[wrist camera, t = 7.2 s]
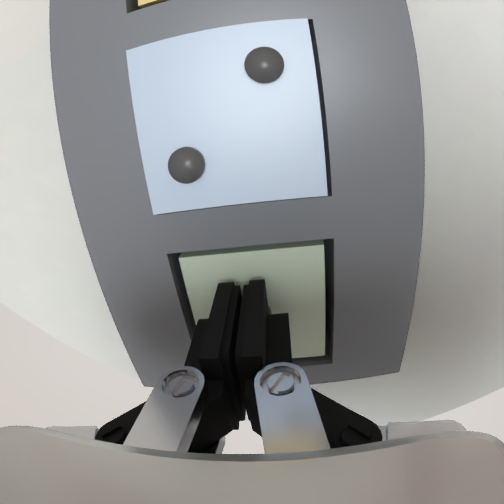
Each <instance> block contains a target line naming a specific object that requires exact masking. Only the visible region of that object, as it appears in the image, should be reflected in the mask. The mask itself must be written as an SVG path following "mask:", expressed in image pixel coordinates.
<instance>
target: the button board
mask: <svg viewBox="0 0 504 504" xmlns="http://www.w3.org/2000/svg"><path fill="white" fill-rule="evenodd" d="M304 18H308V24H309V29H310V36H311V42H312V48H313V55H314V62H315V69H316V77H317V84H318V92H319V101H320V110H321V119H322V129H323V140H324V152H325V164H326V178H327V194H328V196H319V197H307V198H296V199H285V200H274V201H264V202H254V203H245V204H236V205H227V206H218V207H210V208H202V209H194V210H186V211H178V212H171V213H164V214H157V215H153V210H152V206H151V201H150V197H149V192H148V187H147V182H146V177H145V172H144V167H143V162H142V157H141V151H140V146H139V140H138V134H137V128H136V122H135V116H134V109H133V103H132V96H131V88H130V81H129V73H128V64H127V55H126V50H130V49H133V48H136V47H139V46H142V45H146V44H149V43H153V42H156V41H160V40H164V39H168V38H171V37H176V36H180V35H184V34H188V33H193V32H198V31H203V30H208V29H213V28H219V27H225V26H231V25H238V24H245V23H253V22H262V21H273V20H285V19H304ZM50 52H51V68H52V79H53V89H54V98H55V106H56V113H57V120H58V126H59V132H60V138H61V144H62V149H63V154H64V159H65V164H66V169H67V174H68V178H69V182H70V187H71V191H72V195H73V199H74V203H75V207H76V210H77V214H78V218H79V221H80V225H81V228H82V232H83V235H84V238H85V242H86V245H87V248H88V251H89V254H90V257H91V260H92V263H93V266H94V269H95V272H96V275H97V278H98V281H99V284H100V286H101V289H102V292H103V294H104V297H105V300H106V302H107V305H108V307H109V310H110V312H111V315H112V317H113V320H114V322H115V325H116V327H117V329H118V332H119V334H120V336H121V339H122V341H123V343H124V346H125V348H126V350H127V352H128V354H129V357H130V359H131V361H132V363H133V365H134V367H135V369H136V371H137V373H138V375H139V377H140V380H141V382H142V384H143V385H144V386H147V387H155V385H156V383H157V382H158V380H159V378H160V377H161V376H162V375H163V374H164V373H165V372H167V371H168V370H170V369H173V368H175V367H180V366H184V364H185V361H186V358H187V354H188V351H189V348H190V344H191V341H192V338H193V334H194V331H195V328H196V324H195V320H194V316H193V313H192V309H191V305H190V302H189V298H188V294H187V290H186V286H185V282H184V278H183V274H182V270H181V266H180V262H179V256H180V255H181V253H182V252H191V251H201V250H212V249H222V248H233V247H243V246H254V245H265V244H276V243H287V242H298V241H309V240H320V239H322V241H323V243H324V258H325V355H324V356H314V357H303V358H292V364H295V365H297V366H299V367H300V368H302V369H303V370H304V372H305V374H306V375H307V378H308V382H309V384H318V383H327V382H336V381H344V380H352V379H359V378H366V377H372V376H378V375H384V374H390V373H396V372H399V370H400V366H401V362H402V358H403V354H404V349H405V345H406V340H407V335H408V330H409V325H410V320H411V314H412V308H413V302H414V296H415V290H416V283H417V275H418V267H419V258H420V249H421V238H422V225H423V208H424V176H425V159H424V126H423V110H422V98H421V87H420V78H419V70H418V63H417V56H416V49H415V43H414V37H413V32H412V26H411V21H410V17H409V12H408V7H407V3H406V0H170V1H166V2H162V3H159V4H155V5H152V6H149V7H145V8H140V7H139V6H138V0H50Z"/></svg>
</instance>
